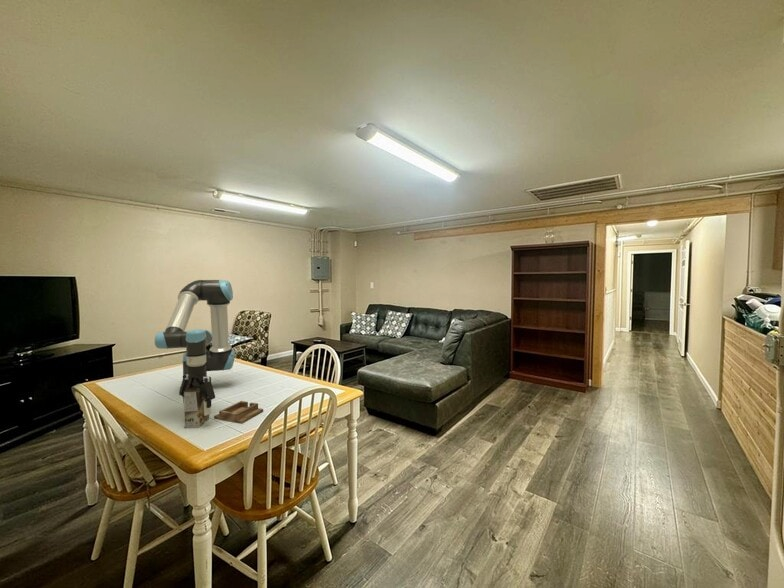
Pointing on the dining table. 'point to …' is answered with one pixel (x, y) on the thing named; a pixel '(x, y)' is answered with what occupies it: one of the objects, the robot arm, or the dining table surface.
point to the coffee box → (194, 408)
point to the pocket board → (239, 412)
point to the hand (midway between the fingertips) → (197, 412)
